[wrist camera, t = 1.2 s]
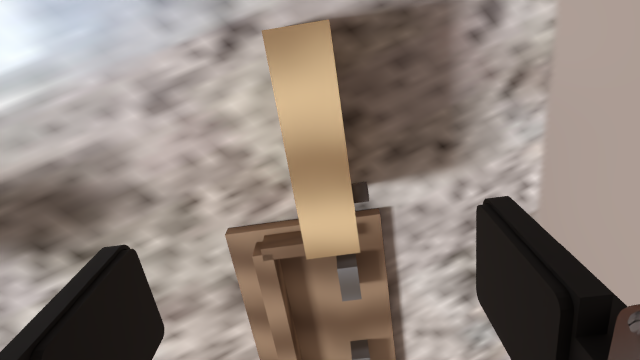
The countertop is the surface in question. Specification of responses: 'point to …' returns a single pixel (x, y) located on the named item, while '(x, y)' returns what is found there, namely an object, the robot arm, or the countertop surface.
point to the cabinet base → (314, 293)
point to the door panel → (314, 137)
